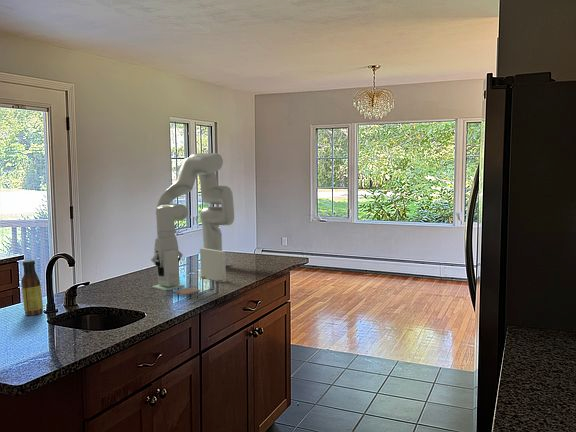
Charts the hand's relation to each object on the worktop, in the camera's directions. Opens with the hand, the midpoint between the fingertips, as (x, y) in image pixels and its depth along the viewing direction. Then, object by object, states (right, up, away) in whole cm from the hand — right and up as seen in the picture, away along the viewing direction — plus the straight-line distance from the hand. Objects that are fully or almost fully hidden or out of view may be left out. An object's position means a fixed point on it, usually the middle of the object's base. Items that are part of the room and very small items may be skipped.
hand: (168, 274), depth 233 cm
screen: (+18, -4, +13) cm, 23 cm away
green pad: (0, -6, 0) cm, 6 cm away
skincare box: (0, -5, 0) cm, 5 cm away
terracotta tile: (+10, -6, -10) cm, 15 cm away
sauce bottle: (-41, -11, -37) cm, 57 cm away
